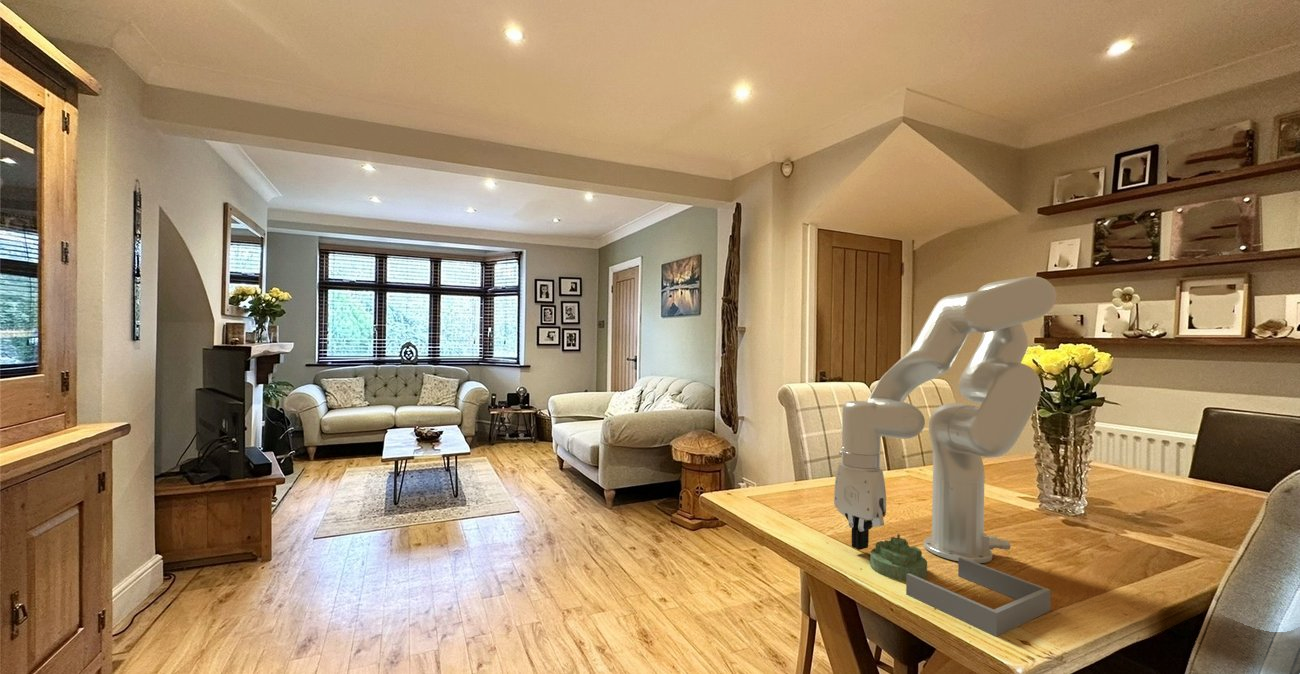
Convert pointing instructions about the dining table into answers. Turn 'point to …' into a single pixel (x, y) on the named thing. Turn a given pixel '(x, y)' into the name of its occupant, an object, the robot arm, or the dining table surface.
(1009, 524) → the dining table surface
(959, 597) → the box
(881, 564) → the decorative artifact
